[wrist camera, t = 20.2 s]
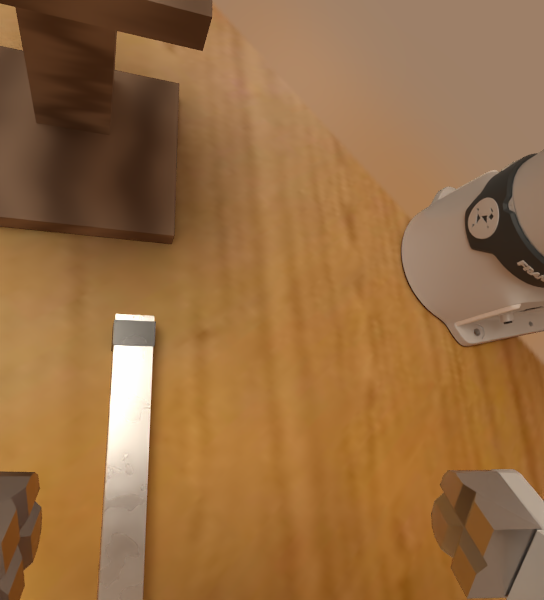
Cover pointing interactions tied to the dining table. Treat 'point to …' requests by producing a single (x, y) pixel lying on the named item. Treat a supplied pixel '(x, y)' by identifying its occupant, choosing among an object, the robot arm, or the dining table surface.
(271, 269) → the dining table surface
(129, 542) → the grey square bar
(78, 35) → the mount stand
